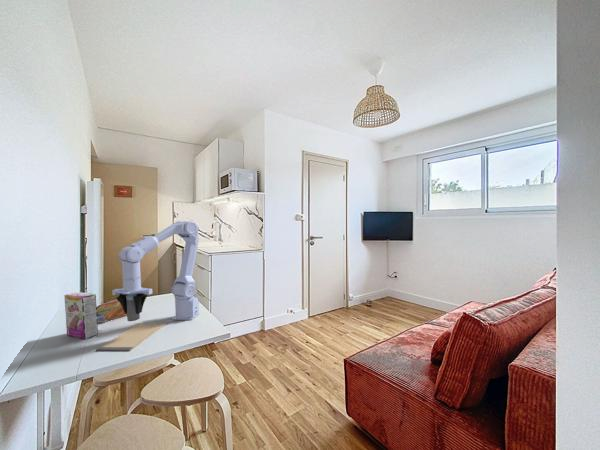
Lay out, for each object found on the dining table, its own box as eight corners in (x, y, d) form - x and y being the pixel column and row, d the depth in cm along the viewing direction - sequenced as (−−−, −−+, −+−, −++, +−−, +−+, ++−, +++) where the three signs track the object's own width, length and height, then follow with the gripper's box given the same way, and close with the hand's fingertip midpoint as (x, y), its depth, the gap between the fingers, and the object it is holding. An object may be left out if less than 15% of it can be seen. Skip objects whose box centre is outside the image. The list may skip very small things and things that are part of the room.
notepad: (165, 324, 107) (165, 323, 107) (129, 350, 86) (129, 349, 86) (138, 324, 108) (138, 323, 108) (96, 350, 87) (96, 349, 87)
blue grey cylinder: (142, 316, 98) (141, 293, 98) (135, 321, 94) (134, 296, 94) (132, 317, 99) (131, 293, 98) (124, 321, 95) (123, 296, 94)
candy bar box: (65, 336, 98) (63, 294, 98) (80, 330, 103) (78, 291, 102) (84, 340, 95) (82, 297, 94) (98, 334, 99) (96, 293, 99)
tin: (95, 325, 108) (94, 306, 107) (92, 324, 109) (91, 305, 109) (133, 313, 120) (132, 296, 120) (130, 312, 122) (129, 295, 122)
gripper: (105, 280, 92) (106, 317, 93) (143, 280, 92) (144, 317, 92) (119, 276, 99) (121, 310, 100) (155, 275, 99) (156, 309, 99)
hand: (133, 312), depth 96 cm, fingers closed on blue grey cylinder, 4 cm apart
